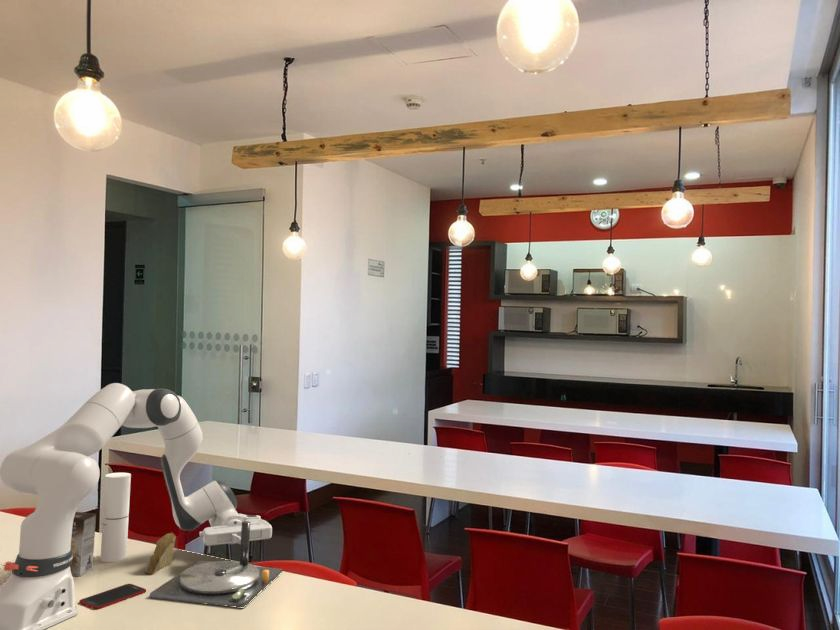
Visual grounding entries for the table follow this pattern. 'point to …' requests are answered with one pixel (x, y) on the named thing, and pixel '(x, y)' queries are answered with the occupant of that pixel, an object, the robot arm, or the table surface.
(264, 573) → the level mark
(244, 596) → the grey square base plate
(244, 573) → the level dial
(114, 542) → the cylindrical container
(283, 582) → the table surface
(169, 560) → the rock
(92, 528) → the coffee box
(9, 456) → the robot arm
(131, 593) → the cell phone
